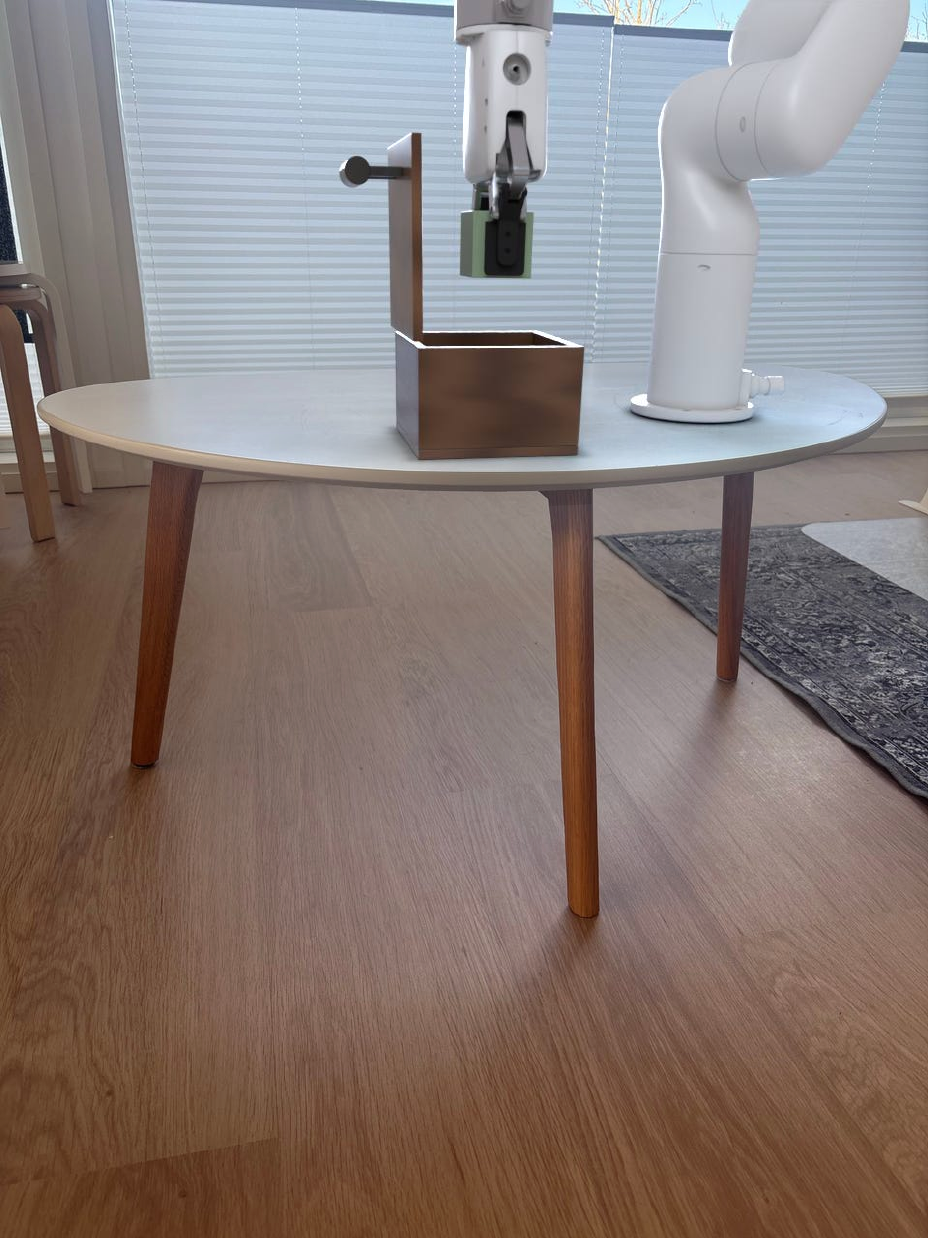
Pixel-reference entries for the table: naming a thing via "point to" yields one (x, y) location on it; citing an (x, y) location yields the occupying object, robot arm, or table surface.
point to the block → (475, 245)
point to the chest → (488, 394)
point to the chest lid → (400, 227)
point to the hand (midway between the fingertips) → (495, 271)
